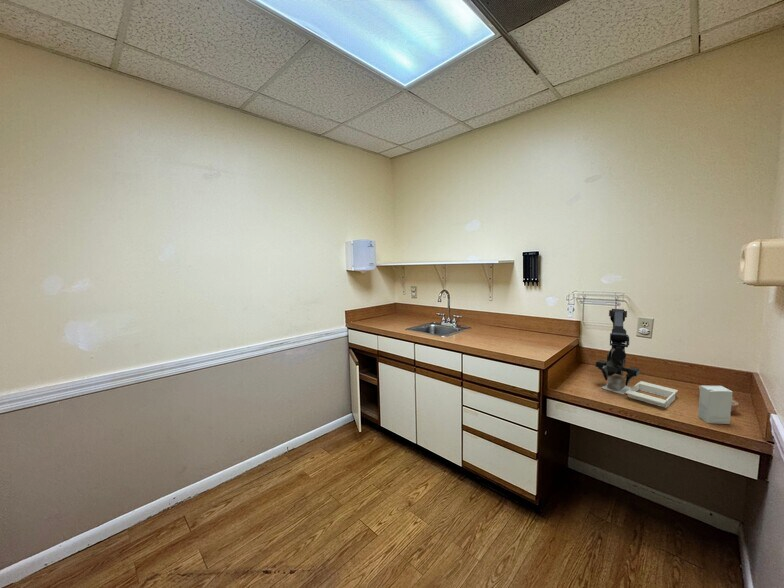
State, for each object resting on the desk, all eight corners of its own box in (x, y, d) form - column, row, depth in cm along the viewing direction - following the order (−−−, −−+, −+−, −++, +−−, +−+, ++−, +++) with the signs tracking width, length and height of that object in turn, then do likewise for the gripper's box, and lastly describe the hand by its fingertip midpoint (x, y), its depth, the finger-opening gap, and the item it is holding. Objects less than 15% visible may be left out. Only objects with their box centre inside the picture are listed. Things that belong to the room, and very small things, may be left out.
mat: (601, 388, 170) (601, 387, 170) (610, 382, 177) (610, 381, 177) (622, 394, 162) (622, 393, 162) (631, 388, 169) (631, 387, 168)
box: (607, 388, 169) (608, 377, 168) (614, 383, 174) (614, 373, 173) (618, 391, 165) (618, 380, 164) (624, 386, 170) (625, 376, 169)
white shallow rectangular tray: (624, 399, 157) (624, 392, 156) (640, 387, 170) (640, 380, 169) (663, 410, 144) (664, 403, 144) (677, 396, 157) (678, 390, 157)
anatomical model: (741, 417, 137) (742, 406, 136) (710, 412, 142) (711, 402, 141) (719, 396, 157) (720, 386, 156) (692, 392, 162) (693, 383, 161)
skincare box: (718, 417, 137) (721, 385, 135) (730, 425, 131) (734, 391, 129) (696, 416, 139) (699, 384, 137) (707, 423, 133) (710, 390, 131)
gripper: (591, 353, 169) (590, 381, 171) (633, 362, 154) (631, 393, 156) (600, 349, 176) (599, 376, 178) (641, 358, 161) (639, 387, 163)
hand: (616, 383), depth 168 cm, fingers open, 9 cm apart
